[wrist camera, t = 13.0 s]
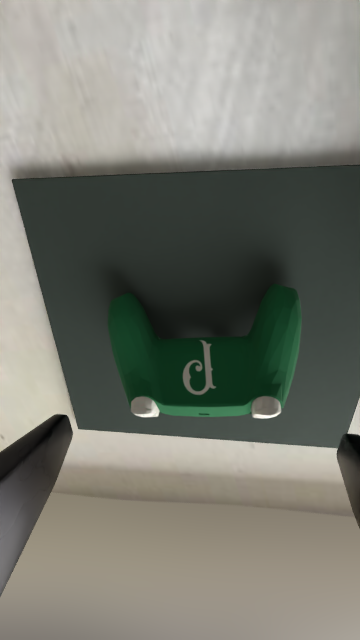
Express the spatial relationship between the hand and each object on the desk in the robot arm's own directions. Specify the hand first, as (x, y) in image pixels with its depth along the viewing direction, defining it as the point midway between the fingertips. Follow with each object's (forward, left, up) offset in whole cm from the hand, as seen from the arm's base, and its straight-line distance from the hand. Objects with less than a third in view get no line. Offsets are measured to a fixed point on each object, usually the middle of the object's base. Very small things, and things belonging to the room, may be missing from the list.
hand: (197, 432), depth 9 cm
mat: (0, 0, -7) cm, 7 cm away
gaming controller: (0, 0, -7) cm, 7 cm away
